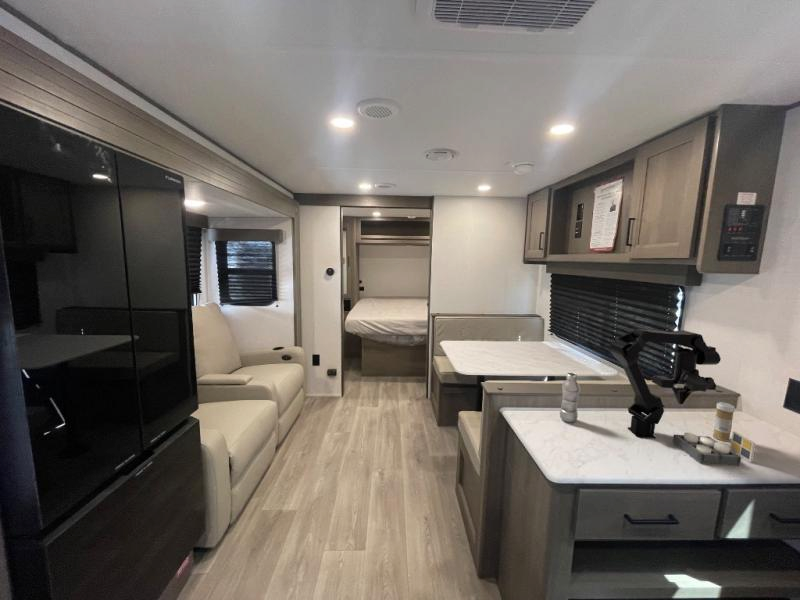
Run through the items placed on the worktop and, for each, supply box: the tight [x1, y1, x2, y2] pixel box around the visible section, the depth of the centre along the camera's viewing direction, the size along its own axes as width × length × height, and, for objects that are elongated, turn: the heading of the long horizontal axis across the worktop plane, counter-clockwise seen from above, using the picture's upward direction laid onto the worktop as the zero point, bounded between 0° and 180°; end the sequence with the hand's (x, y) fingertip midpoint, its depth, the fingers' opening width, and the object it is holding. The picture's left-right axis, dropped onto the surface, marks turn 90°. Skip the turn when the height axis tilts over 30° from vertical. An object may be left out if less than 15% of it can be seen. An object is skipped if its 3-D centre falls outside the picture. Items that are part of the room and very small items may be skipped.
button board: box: [672, 434, 742, 467], centre depth 107 cm, size 12×12×3 cm
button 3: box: [700, 436, 715, 445], centre depth 109 cm, size 4×4×2 cm
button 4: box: [713, 441, 731, 455], centre depth 103 cm, size 4×4×2 cm
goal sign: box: [729, 431, 757, 464], centre depth 105 cm, size 1×7×7 cm, turn 174°
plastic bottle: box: [559, 372, 581, 423], centre depth 127 cm, size 6×7×20 cm
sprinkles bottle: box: [712, 401, 735, 442], centre depth 115 cm, size 5×5×14 cm
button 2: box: [696, 445, 711, 453], centre depth 104 cm, size 4×4×2 cm
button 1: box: [683, 432, 699, 444], centre depth 109 cm, size 4×4×2 cm
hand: (680, 403), depth 118 cm, fingers closed
